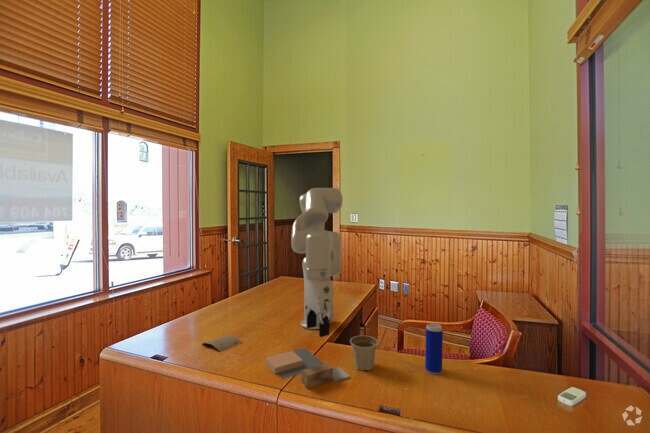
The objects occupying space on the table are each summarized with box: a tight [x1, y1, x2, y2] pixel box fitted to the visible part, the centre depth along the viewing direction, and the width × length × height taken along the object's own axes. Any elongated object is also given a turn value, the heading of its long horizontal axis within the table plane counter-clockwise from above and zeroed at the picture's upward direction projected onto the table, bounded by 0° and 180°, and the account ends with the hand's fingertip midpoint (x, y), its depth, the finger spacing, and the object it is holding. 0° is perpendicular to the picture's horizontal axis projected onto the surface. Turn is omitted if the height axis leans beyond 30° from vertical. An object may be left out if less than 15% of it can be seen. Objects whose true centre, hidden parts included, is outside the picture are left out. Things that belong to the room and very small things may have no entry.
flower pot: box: [349, 335, 379, 371], centre depth 105 cm, size 9×9×9 cm
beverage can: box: [424, 322, 444, 375], centre depth 103 cm, size 5×5×15 cm
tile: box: [265, 350, 303, 375], centre depth 105 cm, size 10×2×8 cm
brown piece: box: [301, 362, 351, 389], centre depth 98 cm, size 14×6×4 cm, turn 121°
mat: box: [264, 347, 325, 380], centre depth 108 cm, size 16×16×1 cm
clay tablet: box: [202, 333, 243, 353], centre depth 121 cm, size 14×10×3 cm
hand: (317, 330), depth 96 cm, fingers open, 7 cm apart
